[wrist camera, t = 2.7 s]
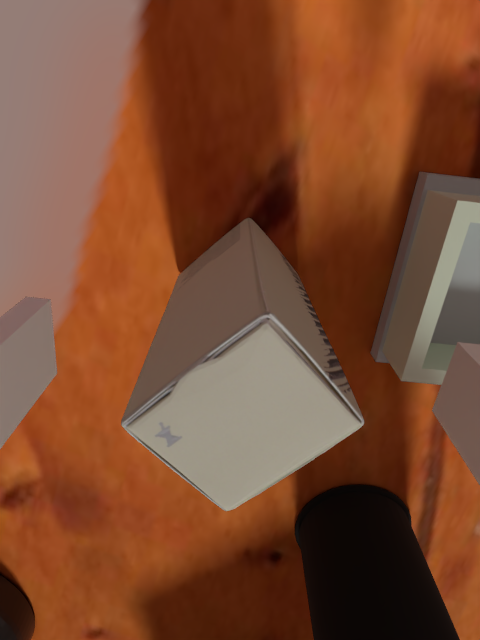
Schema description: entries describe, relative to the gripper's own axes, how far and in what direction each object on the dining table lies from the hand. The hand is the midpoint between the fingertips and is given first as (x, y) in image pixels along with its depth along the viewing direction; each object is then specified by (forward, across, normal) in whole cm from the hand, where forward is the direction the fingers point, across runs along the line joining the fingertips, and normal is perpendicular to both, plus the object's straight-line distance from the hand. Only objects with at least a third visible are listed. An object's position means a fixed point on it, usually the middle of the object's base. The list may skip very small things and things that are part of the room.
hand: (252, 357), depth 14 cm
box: (+10, 0, 0) cm, 10 cm away
